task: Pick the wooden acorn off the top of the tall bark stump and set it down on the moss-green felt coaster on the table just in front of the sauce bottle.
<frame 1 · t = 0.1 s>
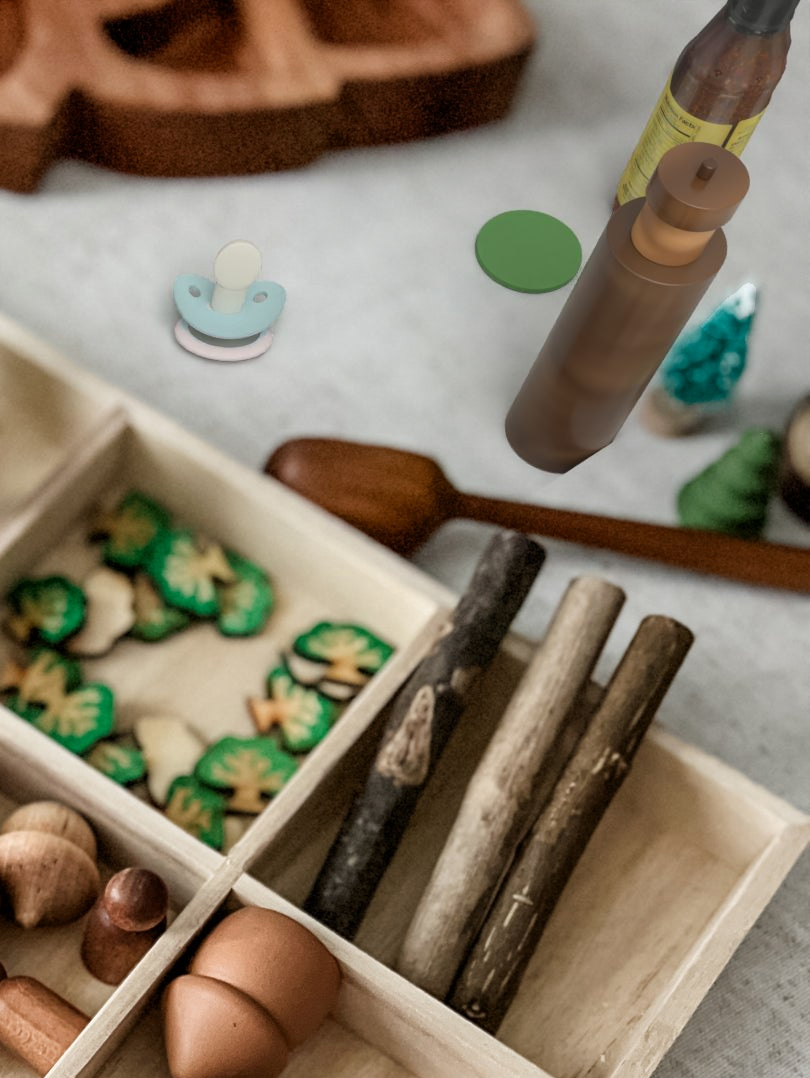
stump: (556, 432, 109), on the table
acorn: (667, 239, 94), point 16 cm above the table, touching stump
sauce bottle: (649, 219, 115), on the table
coaster: (527, 253, 114), on the table
pacifier: (221, 332, 112), on the table
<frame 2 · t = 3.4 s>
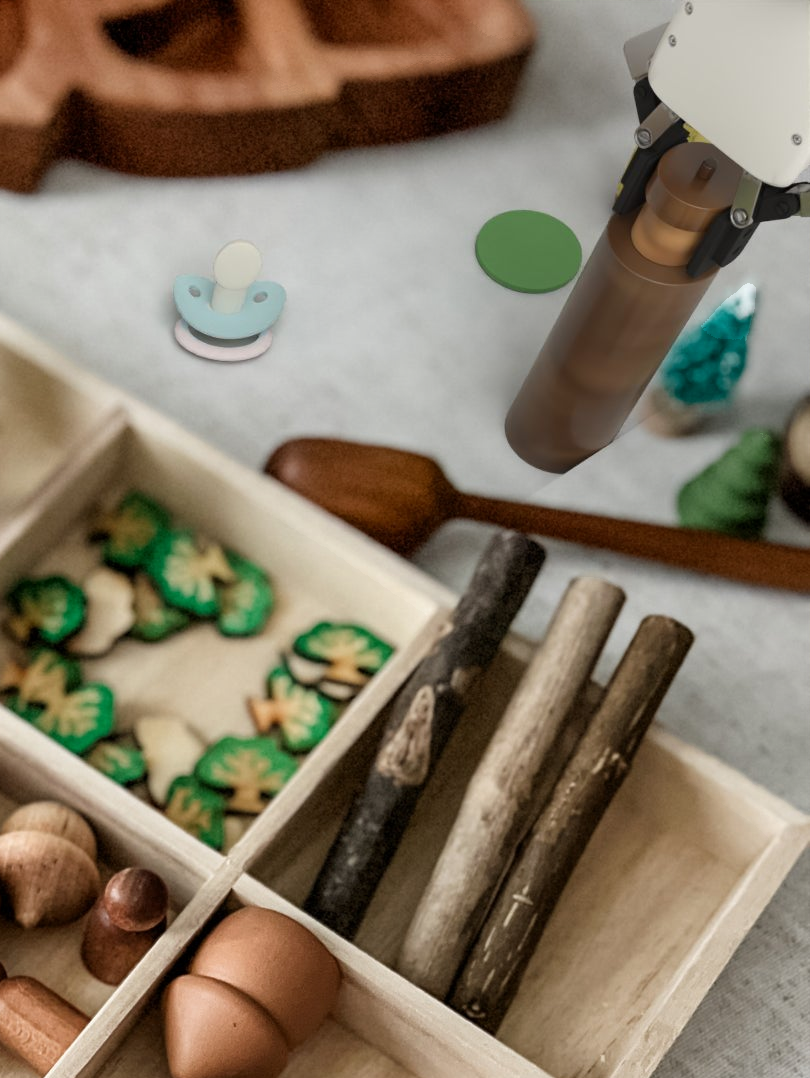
hand: (672, 230, 93), 17 cm above the table, tool pointing down, fingers closed on acorn, 4 cm apart
acorn: (667, 239, 94), point 16 cm above the table, touching gripper, stump
everything else where it was.
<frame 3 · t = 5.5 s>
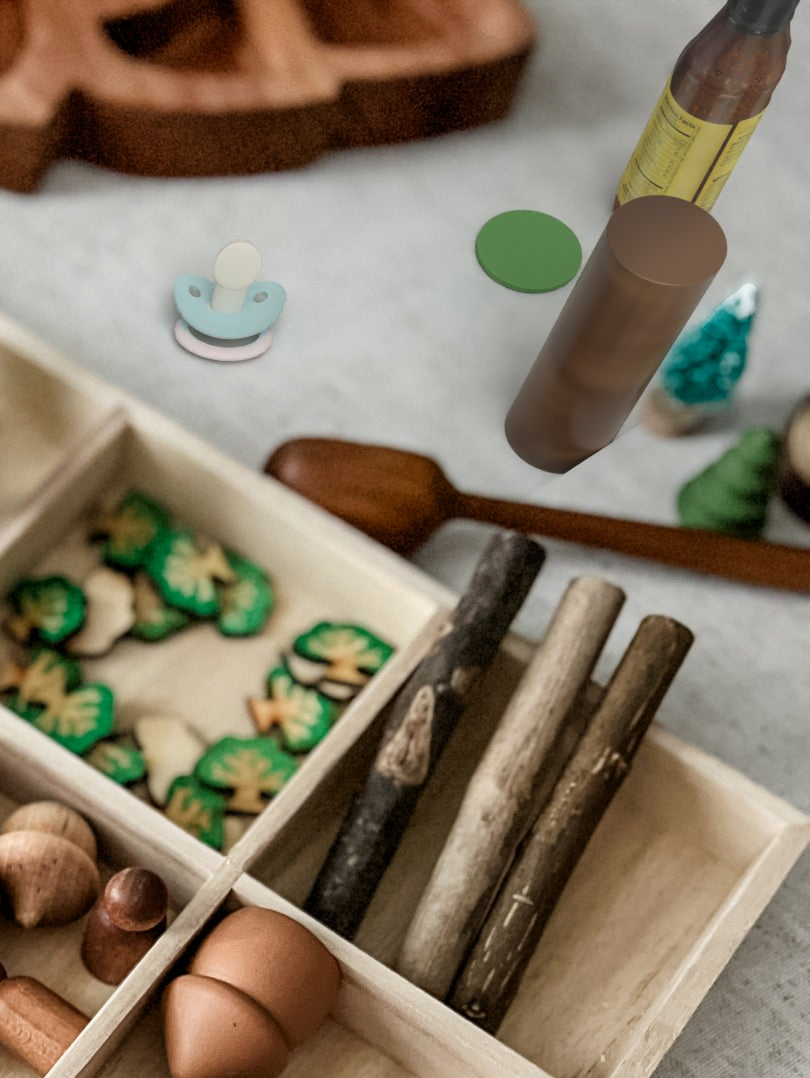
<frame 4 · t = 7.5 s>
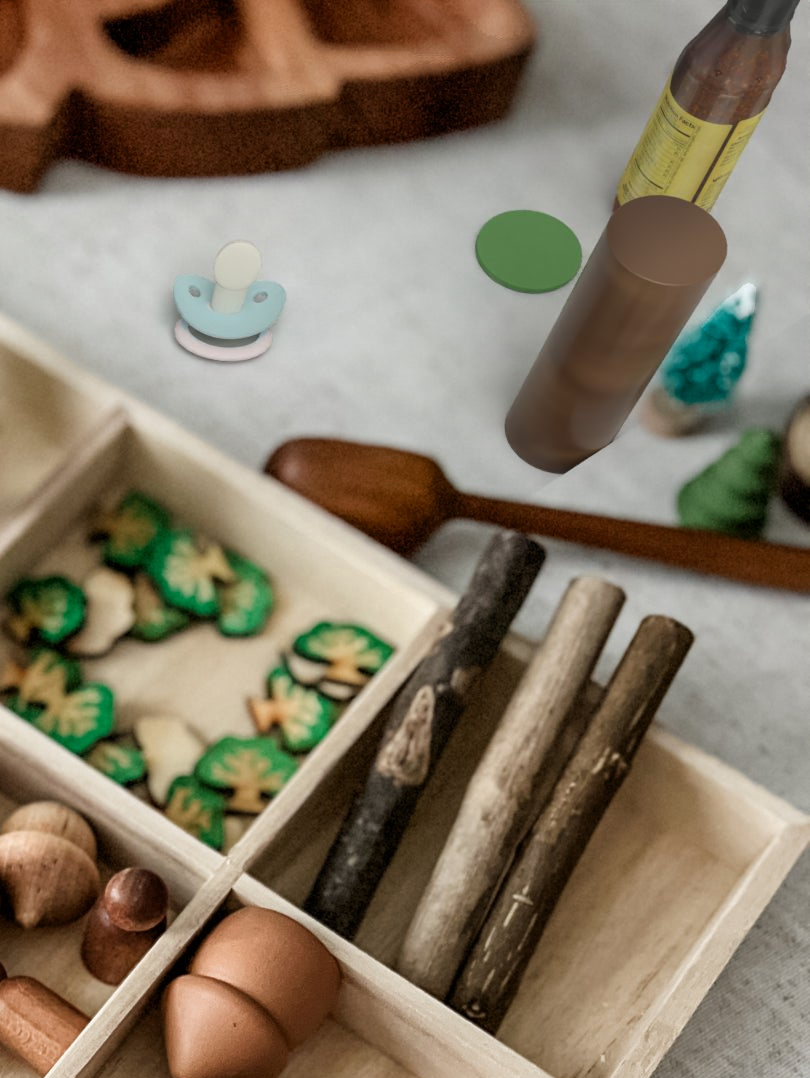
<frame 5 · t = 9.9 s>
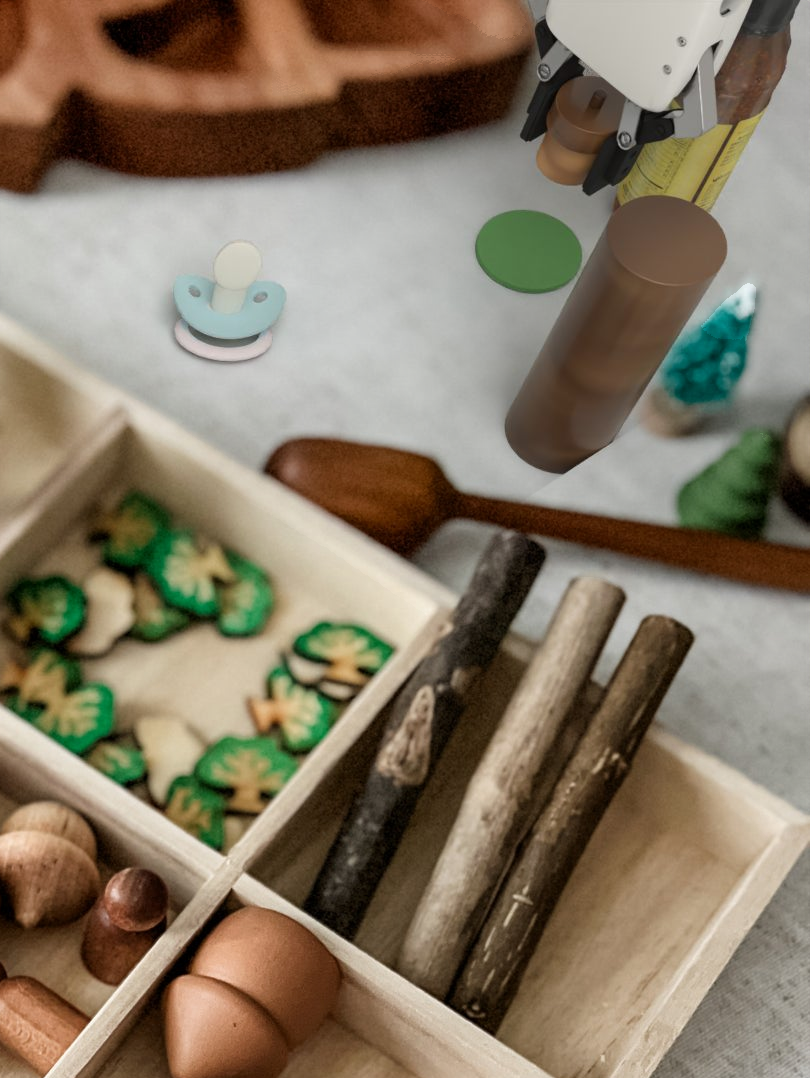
hand: (571, 154, 107), 8 cm above the table, tool pointing down, fingers closed on acorn, 4 cm apart
acorn: (567, 162, 107), point 7 cm above the table, touching gripper
everything else where it was.
when the fingers open (1 cm above the table, at t = 11.8 s): acorn stays where it is, resting on coaster.
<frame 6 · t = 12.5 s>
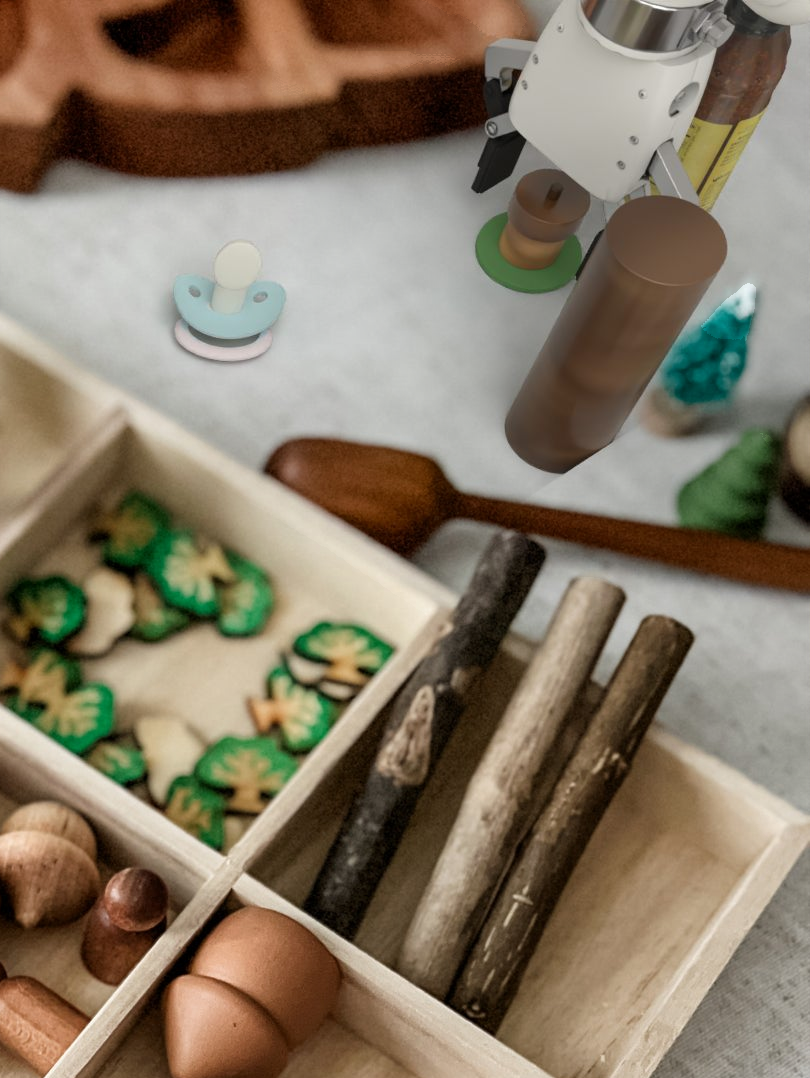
hand: (541, 227, 112), 2 cm above the table, tool pointing down, fingers open, 9 cm apart
acorn: (528, 248, 114), resting on coaster
everything else where it was.
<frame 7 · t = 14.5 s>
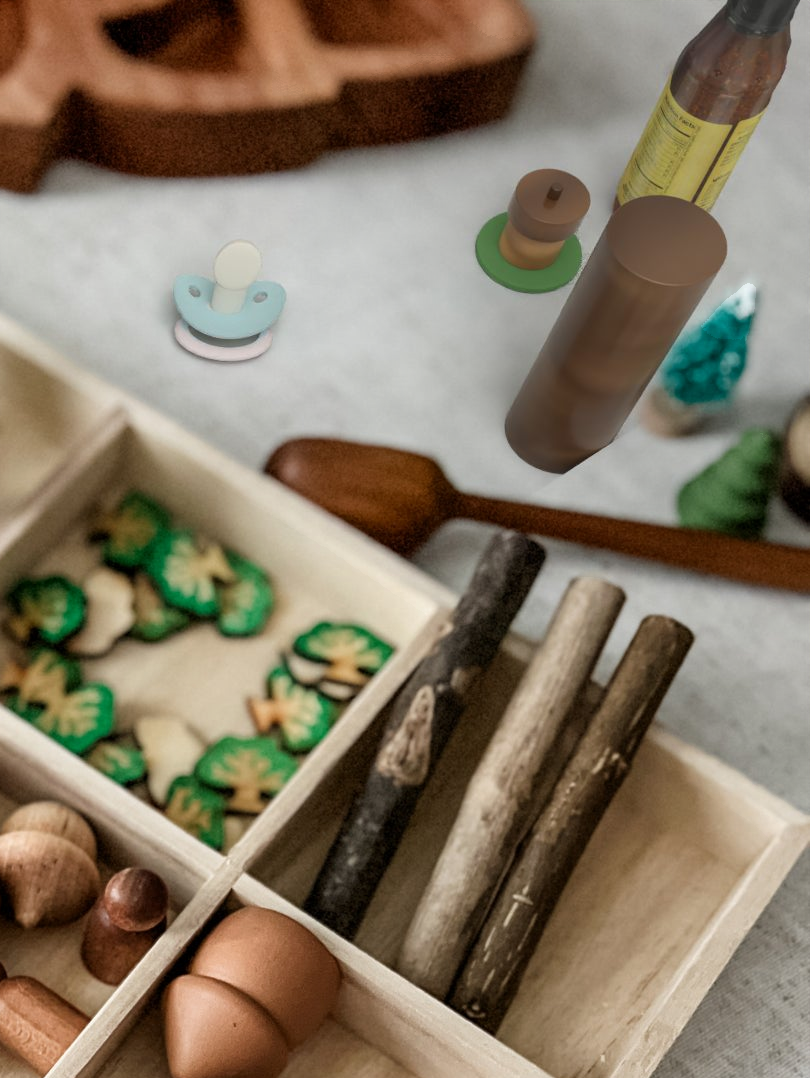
nothing on the table moved.
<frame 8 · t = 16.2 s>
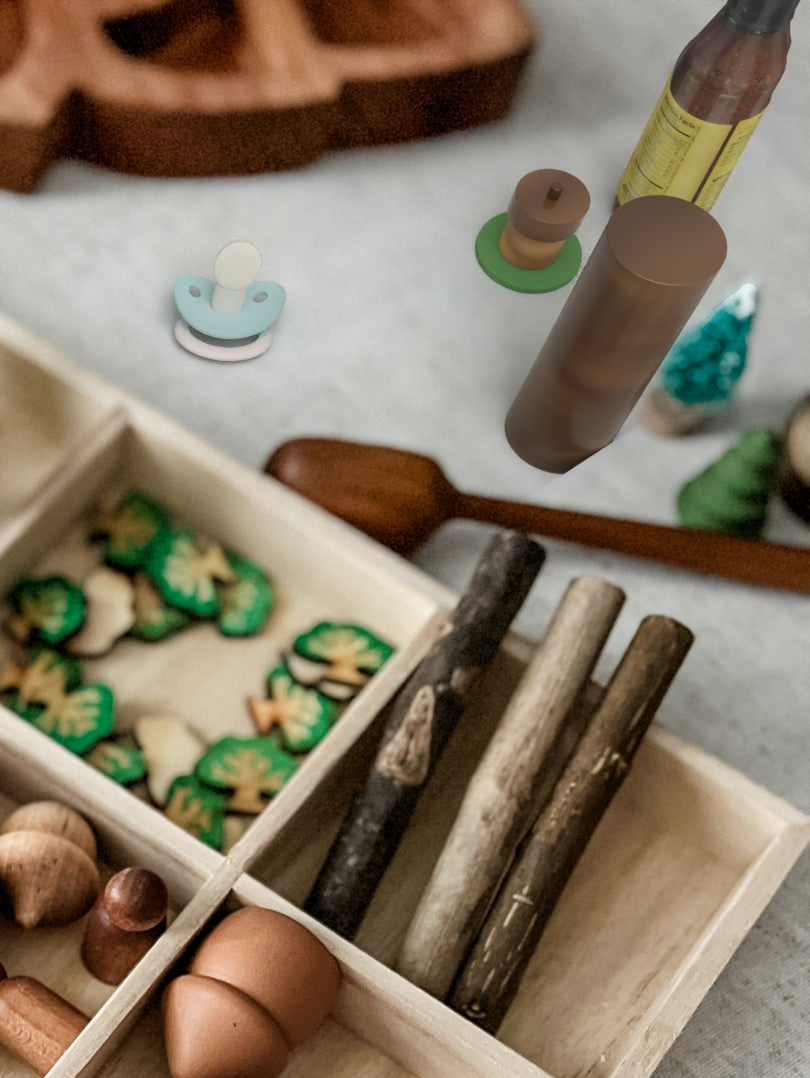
nothing on the table moved.
at the end: acorn 0.1 cm off-centre on the coaster, point 0.4 cm above the coaster's base; acorn tilted 0°; sauce bottle moved 0.2 cm from its start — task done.
